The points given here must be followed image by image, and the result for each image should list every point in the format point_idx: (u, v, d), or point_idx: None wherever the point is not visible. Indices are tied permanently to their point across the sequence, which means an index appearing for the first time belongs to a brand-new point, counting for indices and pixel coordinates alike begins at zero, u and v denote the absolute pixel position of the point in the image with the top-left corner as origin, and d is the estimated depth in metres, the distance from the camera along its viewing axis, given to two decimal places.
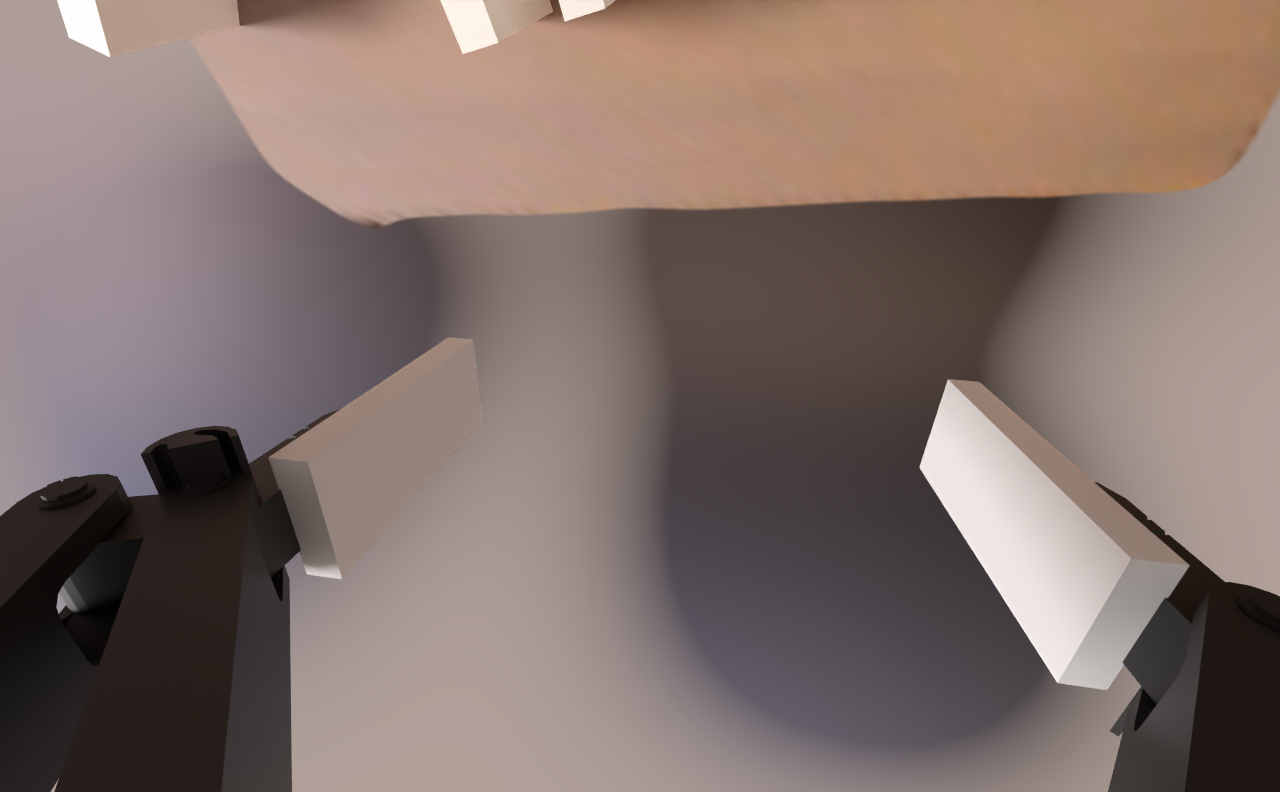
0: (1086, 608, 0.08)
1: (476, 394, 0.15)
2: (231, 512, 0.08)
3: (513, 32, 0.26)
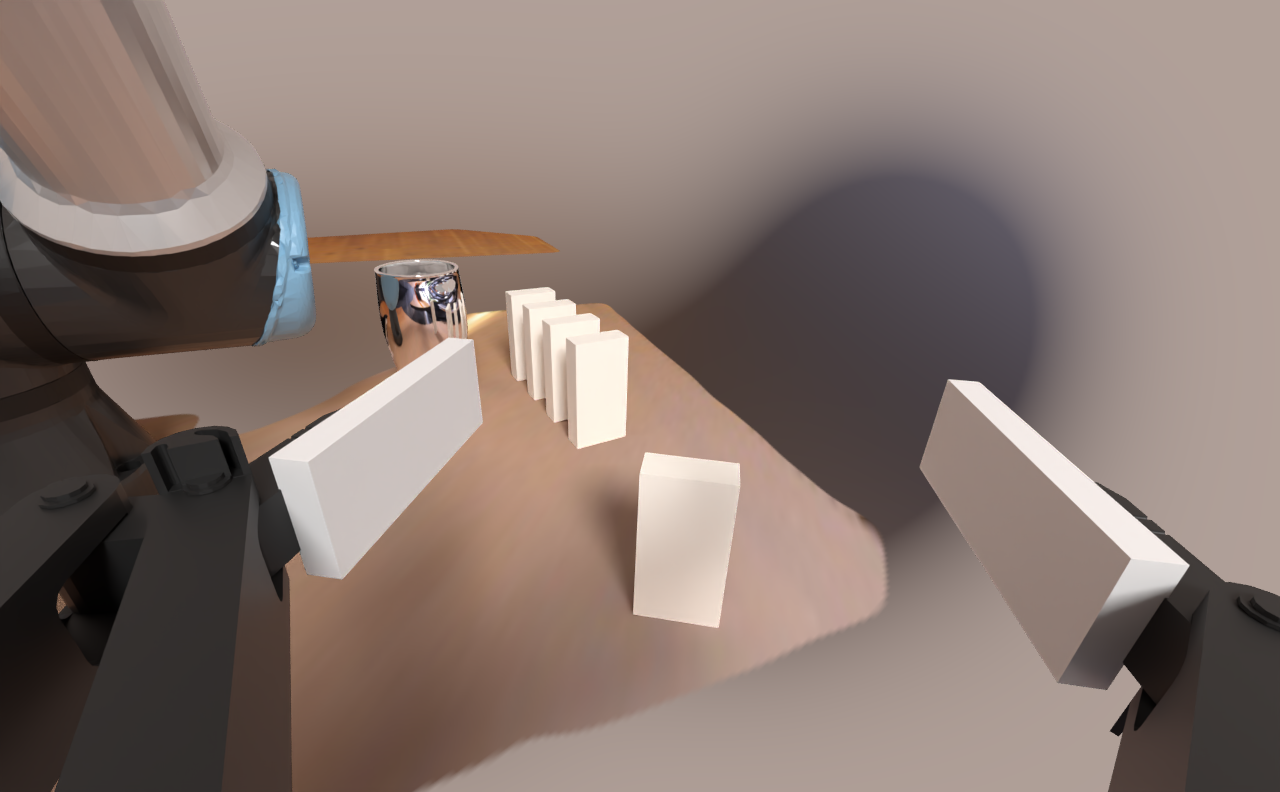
0: (1086, 608, 0.08)
1: (476, 394, 0.15)
2: (231, 512, 0.08)
3: None
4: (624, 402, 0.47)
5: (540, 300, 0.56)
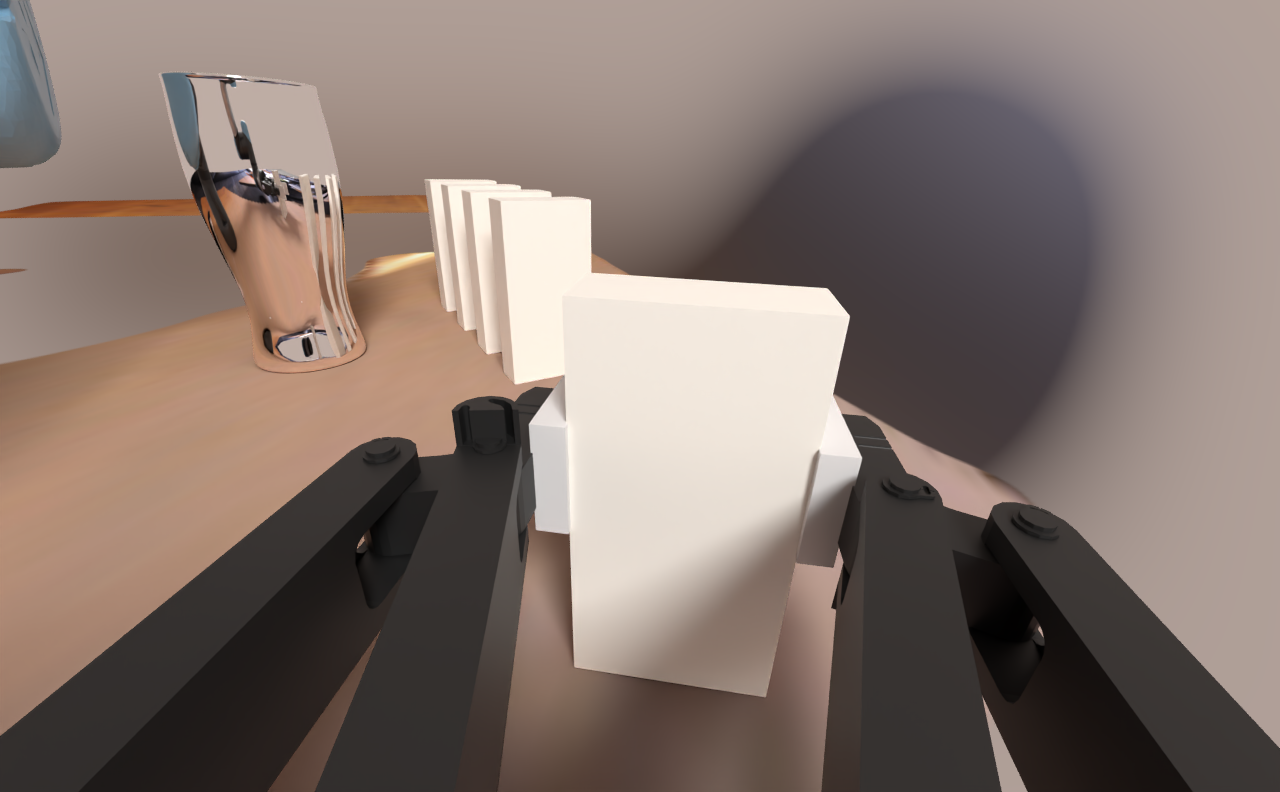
0: None
1: None
2: (502, 476, 0.09)
3: None
4: None
5: None
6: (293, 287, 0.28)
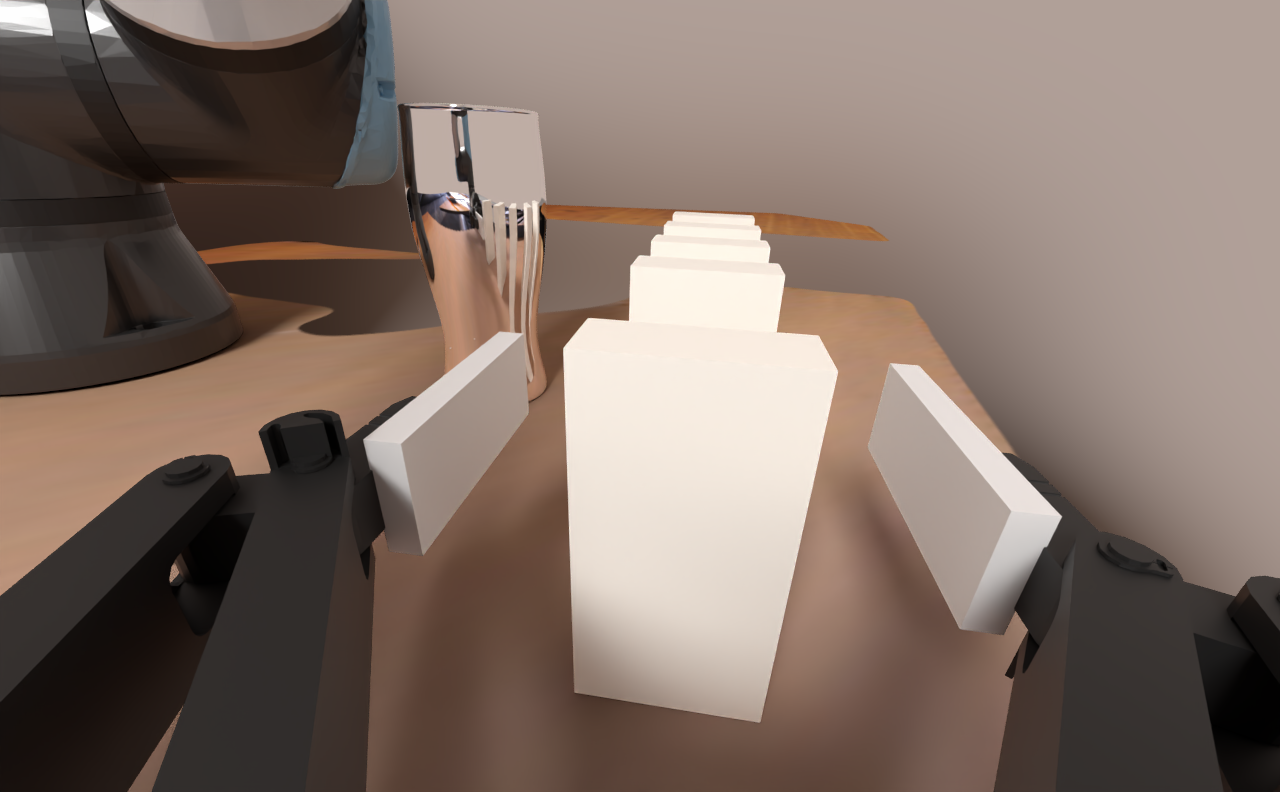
0: (980, 559, 0.09)
1: (524, 386, 0.16)
2: (330, 492, 0.08)
3: None
4: None
5: None
6: (468, 322, 0.27)
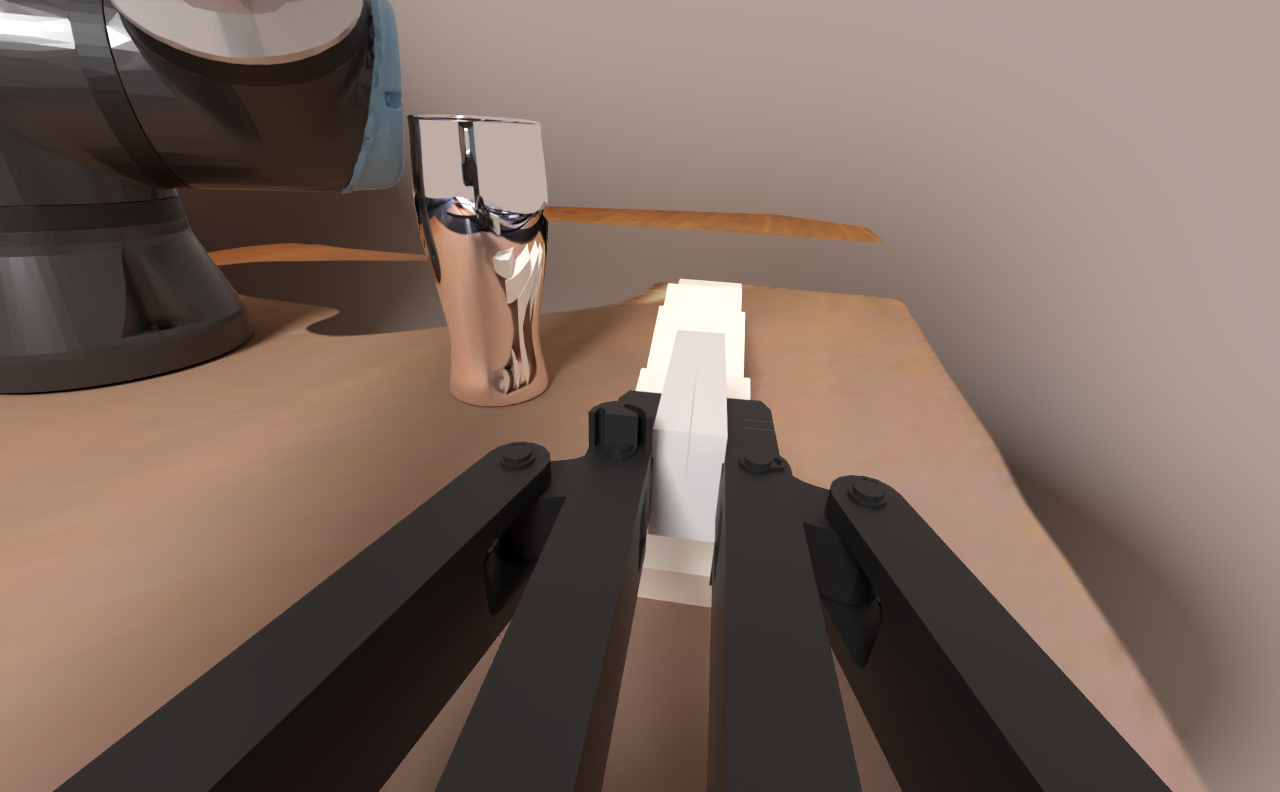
0: None
1: None
2: (631, 484, 0.09)
3: None
4: None
5: None
6: (473, 323, 0.28)
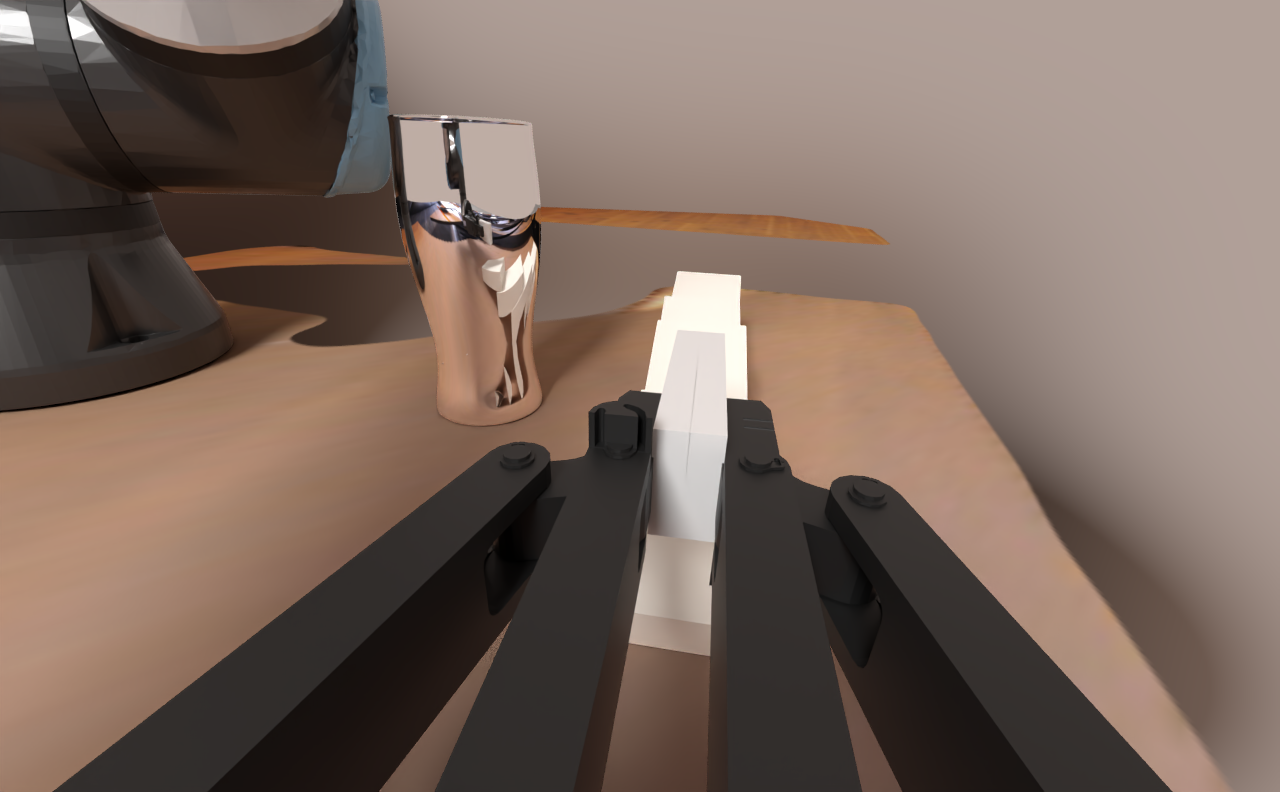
0: None
1: None
2: (630, 484, 0.09)
3: None
4: None
5: None
6: (461, 338, 0.26)
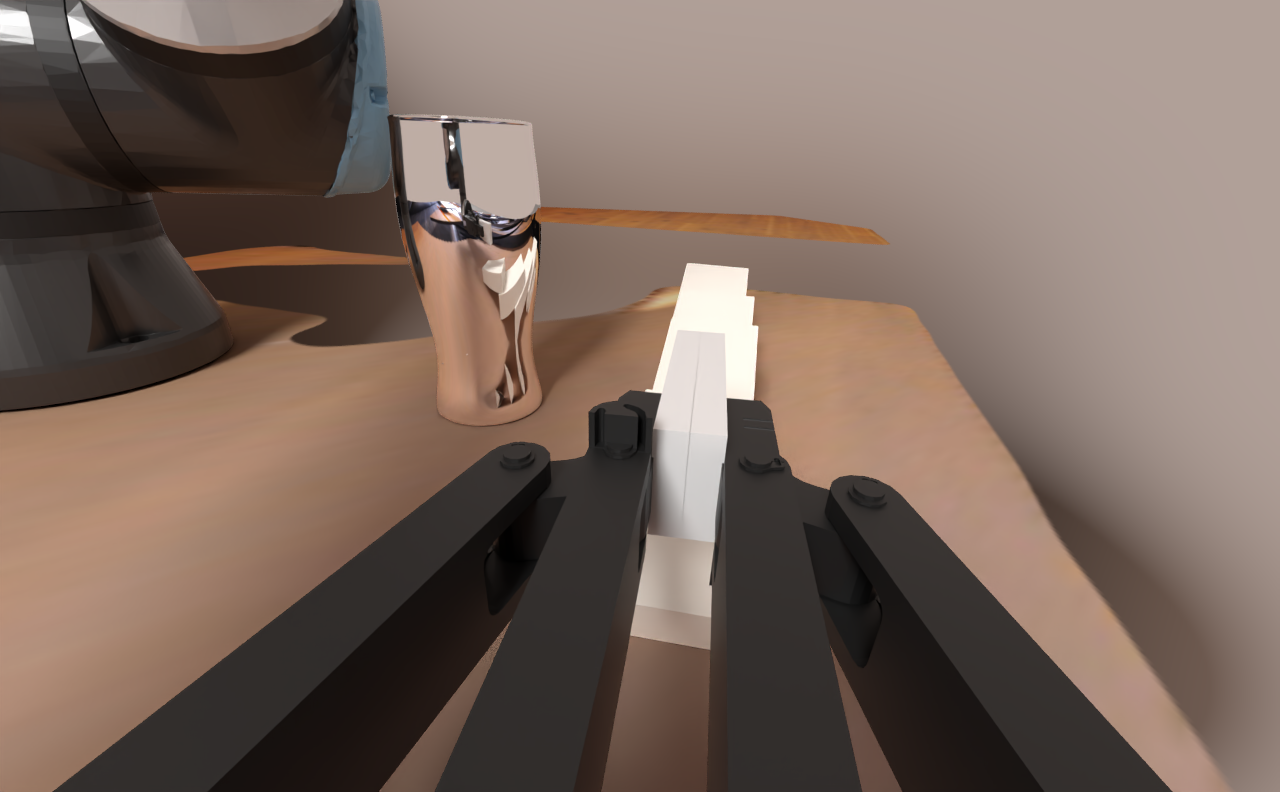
0: None
1: None
2: (630, 484, 0.09)
3: None
4: None
5: None
6: (461, 338, 0.26)
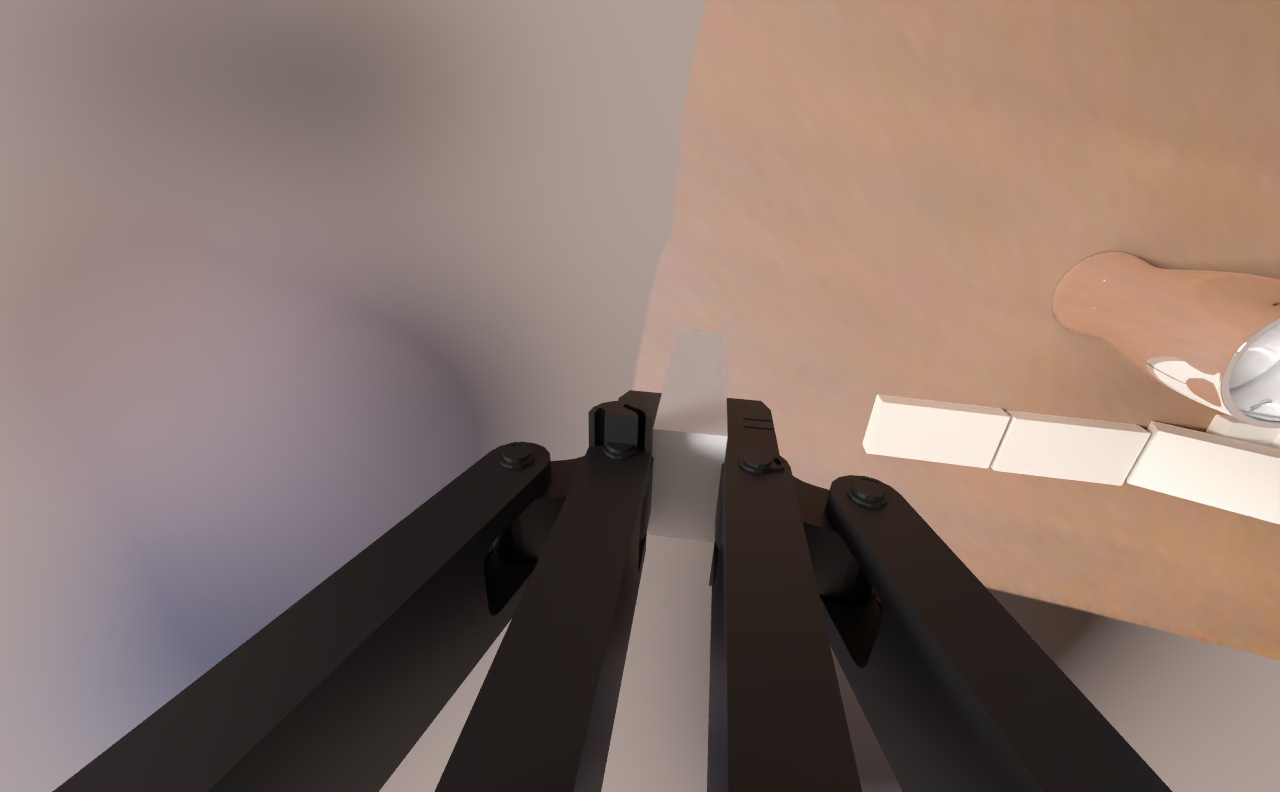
0: None
1: None
2: (630, 484, 0.09)
3: None
4: (1040, 473, 0.43)
5: None
6: (1104, 308, 0.33)
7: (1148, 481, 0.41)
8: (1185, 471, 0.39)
